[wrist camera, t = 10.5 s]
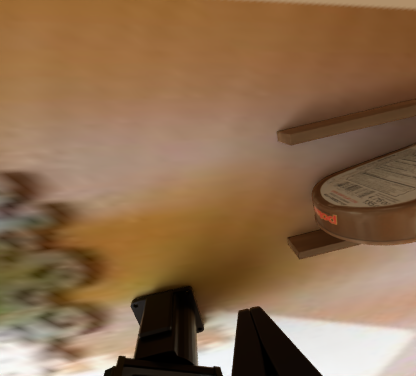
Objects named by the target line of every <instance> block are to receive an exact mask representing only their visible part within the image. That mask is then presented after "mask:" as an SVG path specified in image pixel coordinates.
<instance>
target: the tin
mask: <svg viewBox="0 0 416 376" xmlns="http://www.w3.org/2000/svg"><path fill="white" fill-rule="evenodd" d="M312 201H313V206H314V210H315V220H316V222H317V224H318V226H319V227H320V228H321V229H322V230H324V231H325V232H326V233H328V234H330V235H332V236H334V237H336V238H339V239H342V240H346V241H349V242H353V243H359V244H367V245H398V244H406V243H412V242H416V144H414V145H411V146H408V147H405V148H402V149H399V150H397V151H394V152H391V153H388V154H386V155H383V156H380V157H377V158H374V159H372V160H369V161H366V162H364V163H361V164H358V165H355V166H353V167H350V168H347V169H345V170H342V171H339V172H337V173H334V174H332V175H330V176H328V177H326V178H324V179H322V180H321V181H320V182H318V183H317V184H316V185H315V187H314V189H313V191H312Z"/></svg>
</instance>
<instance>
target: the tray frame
mask: <svg viewBox="0 0 416 376" xmlns="http://www.w3.org/2000/svg"><path fill="white" fill-rule="evenodd" d="M412 116H416V99H413V100H409V101H405V102H400V103H396V104H392V105H388V106H383V107H379V108H375V109H371V110H366V111H362V112H358V113H354V114H349V115H345V116H341V117H337V118H332V119H328V120H324V121H320V122H315V123H311V124H307V125H303V126H299V127H294V128H290V129H286V130H282V131H277V136H278V141H280V142H283V143H285V144H288V145H294V144H299V143H303V142H307V141H311V140H316V139H320V138H324V137H328V136H332V135H337V134H341V133H345V132H349V131H353V130H358V129H362V128H366V127H370V126H374V125H379V124H383V123H387V122H391V121H396V120H400V119H404V118H408V117H412ZM288 245H289V246H290V248H291V249H292V250H293V251H294V253H295V254H296V255H297V257H298V258H299V259H304V258H308V257H312V256H316V255H320V254H324V253H328V252H332V251H336V250H340V249H344V248H348V247H352V246H356V245H360V244H359V243H353V242H349V241H346V240H342V239H339V238H336V237H334V236H332V235H330V234H328V233H326V232H325V231H324V230H318V231H314V232H310V233H306V234H301V235H297V236H293V237H289V238H288Z"/></svg>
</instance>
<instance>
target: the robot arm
mask: <svg viewBox="0 0 416 376" xmlns="http://www.w3.org/2000/svg"><path fill="white" fill-rule="evenodd" d="M186 291H189V292H186ZM131 308H132V310H133V312H134V315H135V317H136V319H137V321H138V323H139V325H140V329H139V334H138V339H137V344H136V348H135V353H134V358H133V359H131V358H125V357H126V356H119V357H118V361H117V364H116V366H113V367H112V368H110V369H108V370H105V373H104V376H223V375H222V372H221V368H220V367H216V366H214V367H205V366H198V353H197V334H196V333H199V332H202V331H203V330H204V324H203V321H202V318H201V315H200V312H199V308H198V305H197V302H196V299H195V296H194V293H193V289H192V288H191V287H190V286H186V287H182V288H178V289H174V290H170V291H166V292H162V293H158V294H154V295H150V296H146V297H142V298H138V299H134V300H133V301H132V303H131ZM232 376H322V375H321V374H320V372H319V371H318V370H317V369H316V368H315V367H314V366H313V365H312V364H311V362H310V361H309V360H308V359H307V358H306V357H305V356H304V355H303V354H302V352H301V351H300V350H299V349H298V348H297V347H296V346H295V345H294V344H293V343H292V341H291V340H290V339H289V338H288V337H287V336H286V335H285V334H284V333H283V331H282V330H281V329H280V328H279V327H278V326H277V325H276V324H275V323H274V321H273V320H272V319H271V318H270V317H269V316H268V315H267V314H266V313H265V311H264V310H263V309H262V308H261V307H259V306H257V307H252V308H250V309H244V310H240V311H239V312H238V319H237V328H236V338H235V347H234V357H233V366H232Z"/></svg>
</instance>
